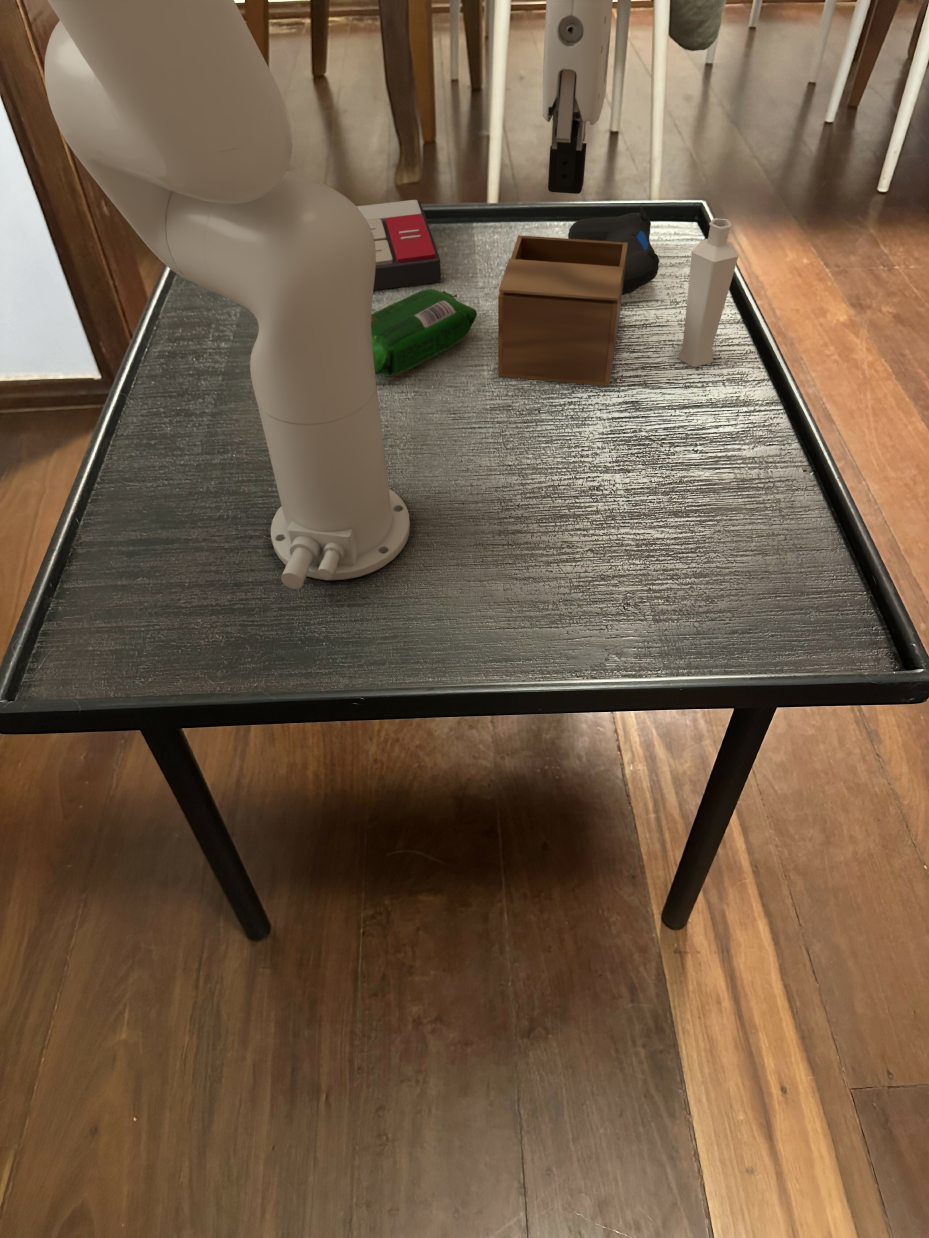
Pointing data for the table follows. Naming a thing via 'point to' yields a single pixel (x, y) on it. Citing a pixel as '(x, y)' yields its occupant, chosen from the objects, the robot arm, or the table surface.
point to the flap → (562, 279)
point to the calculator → (402, 245)
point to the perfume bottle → (707, 292)
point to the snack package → (417, 330)
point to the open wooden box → (560, 319)
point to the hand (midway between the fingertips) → (565, 189)
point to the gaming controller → (623, 229)
